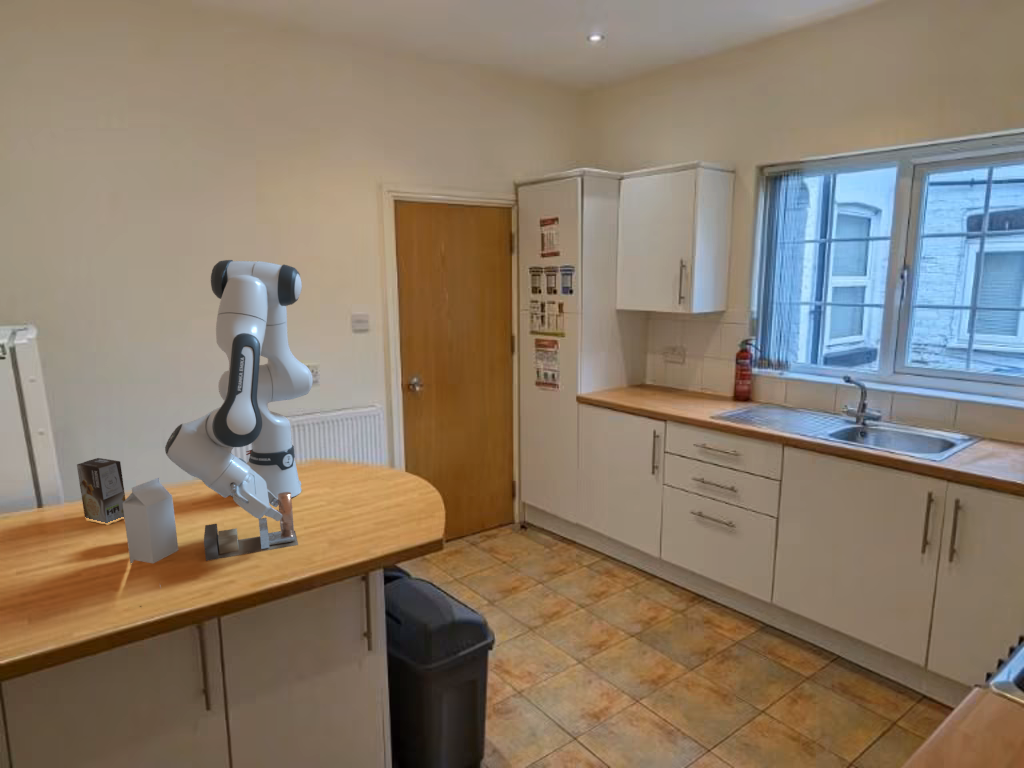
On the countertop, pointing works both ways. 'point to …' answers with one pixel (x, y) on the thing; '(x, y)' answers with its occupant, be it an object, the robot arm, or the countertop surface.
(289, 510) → the press handle
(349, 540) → the countertop surface
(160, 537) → the milk carton
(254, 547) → the base
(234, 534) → the block
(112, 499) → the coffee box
